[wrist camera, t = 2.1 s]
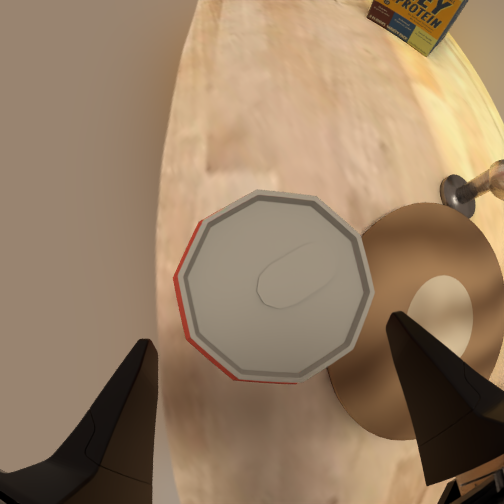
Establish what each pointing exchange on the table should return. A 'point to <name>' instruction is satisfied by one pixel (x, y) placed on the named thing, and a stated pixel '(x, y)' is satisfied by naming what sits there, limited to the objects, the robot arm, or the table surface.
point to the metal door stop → (472, 189)
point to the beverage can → (274, 287)
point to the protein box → (417, 20)
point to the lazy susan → (421, 308)
